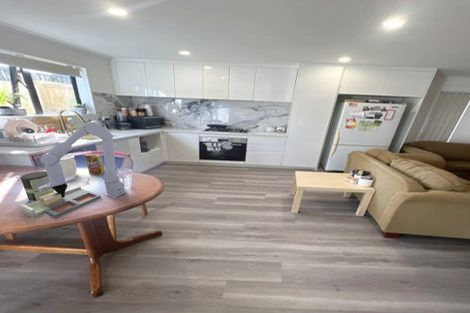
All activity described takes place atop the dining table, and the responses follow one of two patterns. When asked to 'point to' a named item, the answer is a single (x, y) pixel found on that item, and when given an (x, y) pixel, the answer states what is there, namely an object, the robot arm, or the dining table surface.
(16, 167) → the dining table surface
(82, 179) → the dining table surface
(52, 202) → the maple block
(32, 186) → the coffee can
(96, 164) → the candy box
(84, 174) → the dining table surface
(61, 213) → the board
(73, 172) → the jar
